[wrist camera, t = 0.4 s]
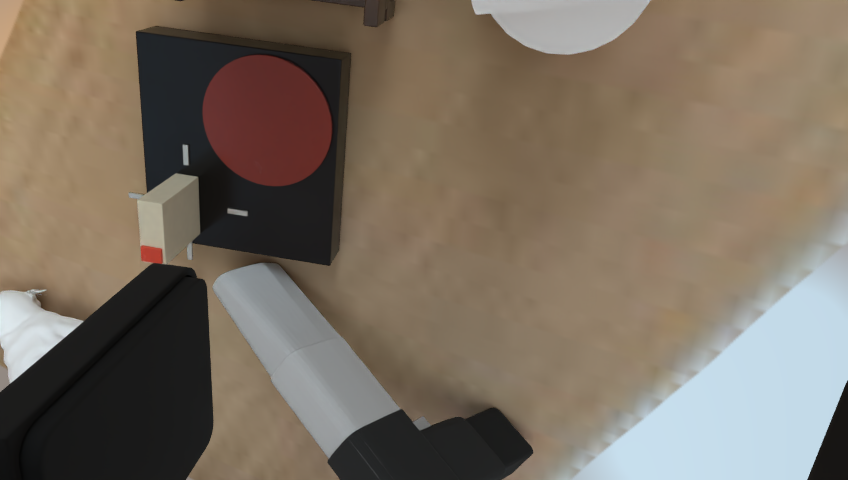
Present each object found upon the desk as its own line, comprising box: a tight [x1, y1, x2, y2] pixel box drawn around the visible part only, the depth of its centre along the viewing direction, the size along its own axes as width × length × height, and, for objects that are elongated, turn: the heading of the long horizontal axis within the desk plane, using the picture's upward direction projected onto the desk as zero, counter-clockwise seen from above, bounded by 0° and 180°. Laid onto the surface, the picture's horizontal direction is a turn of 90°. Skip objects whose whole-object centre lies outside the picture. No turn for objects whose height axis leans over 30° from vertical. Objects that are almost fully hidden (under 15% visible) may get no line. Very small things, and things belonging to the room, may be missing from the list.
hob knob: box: [137, 173, 200, 264], centre depth 44 cm, size 4×2×5 cm, turn 174°
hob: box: [129, 26, 351, 266], centre depth 46 cm, size 15×14×3 cm
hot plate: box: [203, 54, 333, 186], centre depth 43 cm, size 8×8×1 cm
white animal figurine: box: [0, 288, 84, 383], centre depth 52 cm, size 6×8×12 cm
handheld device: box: [213, 263, 533, 480], centre depth 50 cm, size 4×22×15 cm
